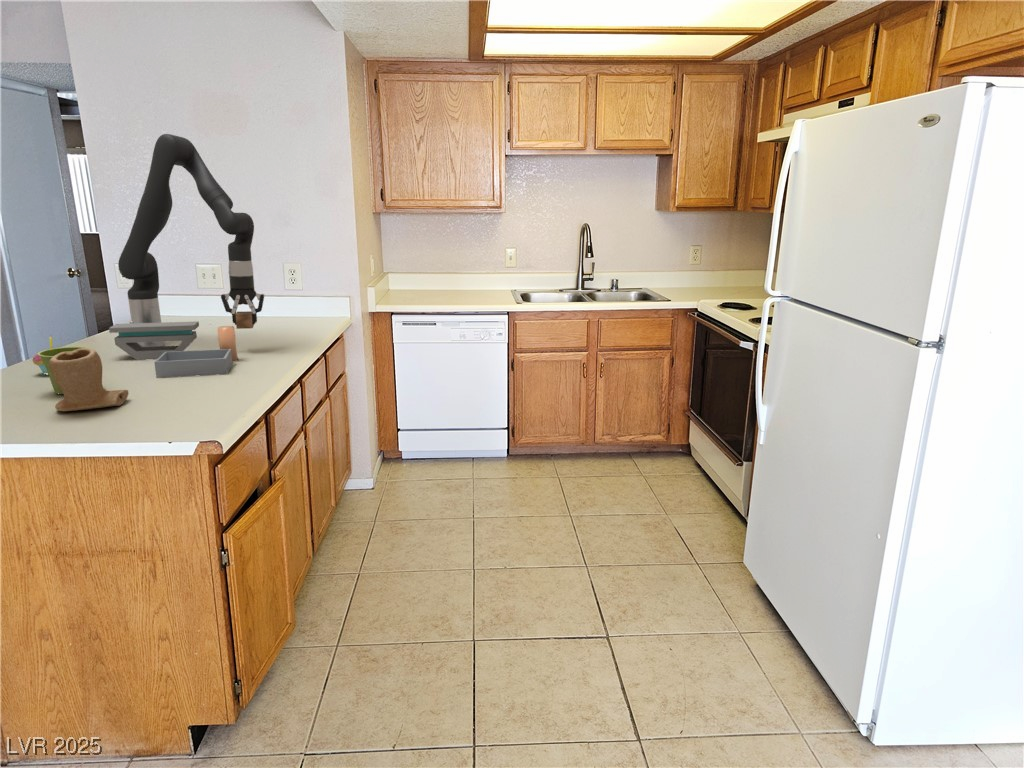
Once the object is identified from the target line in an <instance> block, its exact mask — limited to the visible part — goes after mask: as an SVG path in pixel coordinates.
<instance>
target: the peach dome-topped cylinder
mask: <svg viewBox="0 0 1024 768" xmlns="http://www.w3.org/2000/svg"><path fill="white" fill-rule="evenodd" d="M235 332H236V331H235V326H233V325H223V326H218V327H217V338H218V347H219V349H231V351H232V361H234V362H237V361H238V351H237V350H238V349H237V343H236V342H237V340H236V333H235ZM236 360H237V361H236Z"/></svg>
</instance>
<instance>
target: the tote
mask: <svg viewBox="0 0 1024 768" xmlns="http://www.w3.org/2000/svg"><path fill="white" fill-rule="evenodd" d="M232 366H233V361H232V351H231V349H220V348H219V349H203V350H202V349H200V350H184V351H171V352H164V353H163V354H162V355H161V356H160V357H159V358H158V359H155V361H154V370H155V375H156V376H155V377H156V378H157V379H158V378H161V379H162V378H178V376H181V377H197V376H196V375H200V376H215V375H216V374H219V375H228V373H229V371H230V369H231V368H232ZM216 376H217V375H216Z"/></svg>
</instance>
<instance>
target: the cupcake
mask: <svg viewBox="0 0 1024 768" xmlns="http://www.w3.org/2000/svg"><path fill="white" fill-rule="evenodd" d="M53 345H54V344H53V337H52V334H50V336H49V349H54V347H53ZM31 362H32V363H33V364H34V365H36V366H37V367H38V368H39V369H40V370H41V372H42V374H43V373H48V372H47V370H46V367H45V365H44V364H43V361H42V359H41V357H40V356H38V353H37V354H36V355H34V356H33V357H32V361H31Z"/></svg>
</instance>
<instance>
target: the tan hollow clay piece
mask: <svg viewBox="0 0 1024 768" xmlns="http://www.w3.org/2000/svg"><path fill="white" fill-rule="evenodd" d="M89 348H90V347H87V348H80V349H76V350H74V351H65V352H61V353H59V354H57V355H55V356H53V357H52V358H51V359H50V361H49V366H50V370H51V373H52V375H53V378H54V380H55V381H56V383H57V384H58V386H59V387H60V389H61V390H62V392H63V394H64V395H63V399H62V400H59V401H58V402H57V403H56V404H55V406H54V407H55V409H56V410H57V411H59V412H74V411H85V410H94V409H101V408H109V407H110V408H111V407H117V406H121V405H123V404H124V403H125V402H126V400H127V399H128V397H129V389H117V390H107V389H106V388H105V387H103V362H102V360H101V359H102V358H101V356H100V355H99V353H98V351H96V350H94V349H93V348H90V349H89Z"/></svg>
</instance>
